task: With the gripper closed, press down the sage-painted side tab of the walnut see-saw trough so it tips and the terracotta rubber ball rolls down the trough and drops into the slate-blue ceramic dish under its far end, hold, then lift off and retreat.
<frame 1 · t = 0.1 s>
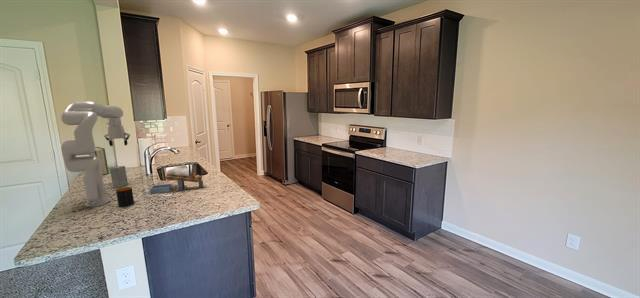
hand: (118, 145, 214), 31 cm above the countertop, fingers open, 9 cm apart
rest block: (201, 187, 206), on the countertop
lever: (185, 175, 206), point 9 cm above the countertop, hinge at -12.0°, touching ball
ball: (197, 177, 204), point 8 cm above the countertop, tilted 11°, touching lever
fulcrum: (181, 189, 203), on the countertop
hardback book: (100, 173, 250), on the countertop
skincare box: (120, 186, 212), on the countertop
mug: (126, 205, 173), on the countertop
dish: (161, 191, 199), on the countertop
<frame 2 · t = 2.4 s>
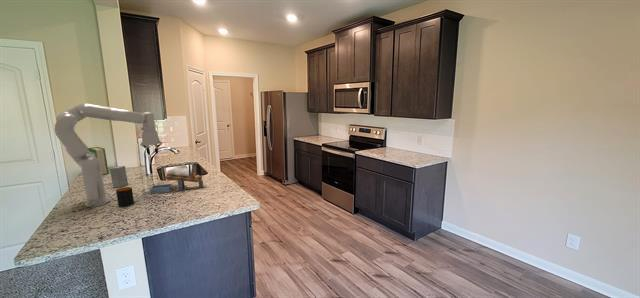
hand: (152, 153, 199), 27 cm above the countertop, fingers open, 4 cm apart
nothing on the countertop moved.
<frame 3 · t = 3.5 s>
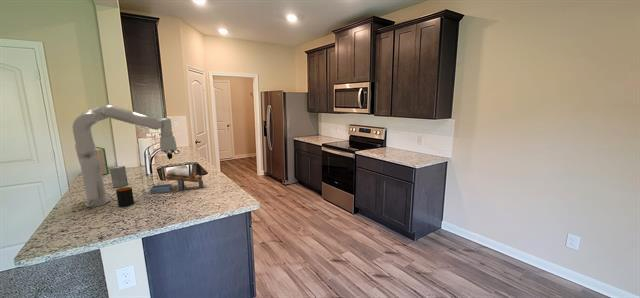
hand: (170, 158, 205), 22 cm above the countertop, fingers closed
nothing on the countertop moved.
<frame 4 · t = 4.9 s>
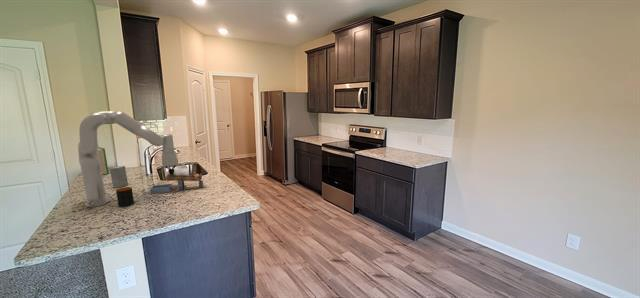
hand: (171, 173, 207), 10 cm above the countertop, fingers closed
lever: (184, 175, 206), point 9 cm above the countertop, hinge at -7.5°, touching ball, gripper
ball: (197, 176, 204), point 9 cm above the countertop, tilted 6°, touching lever
everything else where it was.
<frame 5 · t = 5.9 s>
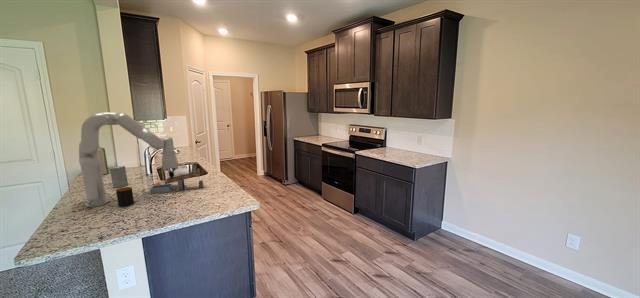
hand: (171, 176, 207), 8 cm above the countertop, fingers closed
lever: (183, 174, 206), point 10 cm above the countertop, hinge at 10.2°, touching gripper
ball: (157, 184, 197), point 5 cm above the countertop, tilted 153°
everything else where it was.
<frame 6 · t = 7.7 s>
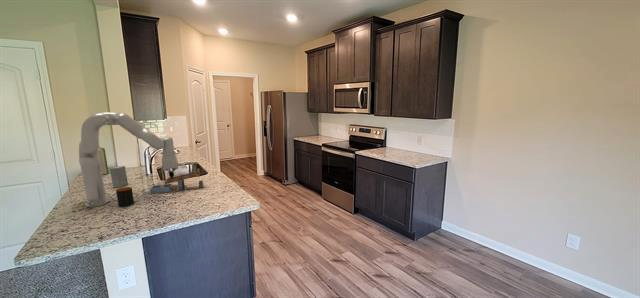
hand: (171, 176, 207), 8 cm above the countertop, fingers closed
ball: (162, 188, 199), point 2 cm above the countertop, tilted 43°, touching dish
everything else where it was.
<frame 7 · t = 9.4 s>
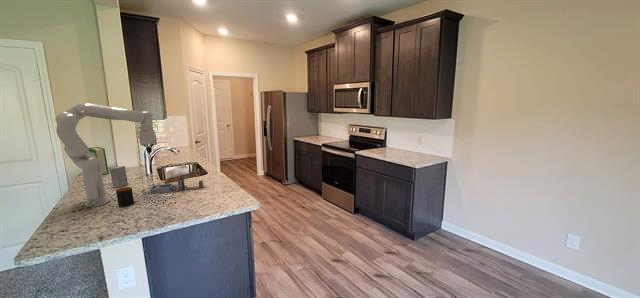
hand: (149, 152, 201), 28 cm above the countertop, fingers closed
lever: (183, 174, 206), point 10 cm above the countertop, hinge at 10.2°
ball: (158, 188, 198), point 2 cm above the countertop, tilted 145°, touching dish
everything else where it was.
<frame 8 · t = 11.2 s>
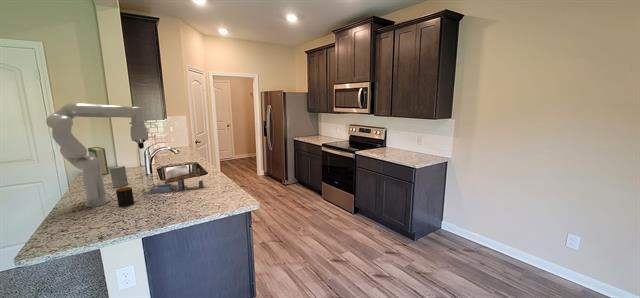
hand: (141, 148, 200), 31 cm above the countertop, fingers closed
ball: (156, 188, 197), point 2 cm above the countertop, tilted 174°, touching dish
everything else where it was.
at the end: ball inside the target area on the dish (3.4 cm from its centre), point 2.3 cm above the dish's base; ball touching dish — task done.
